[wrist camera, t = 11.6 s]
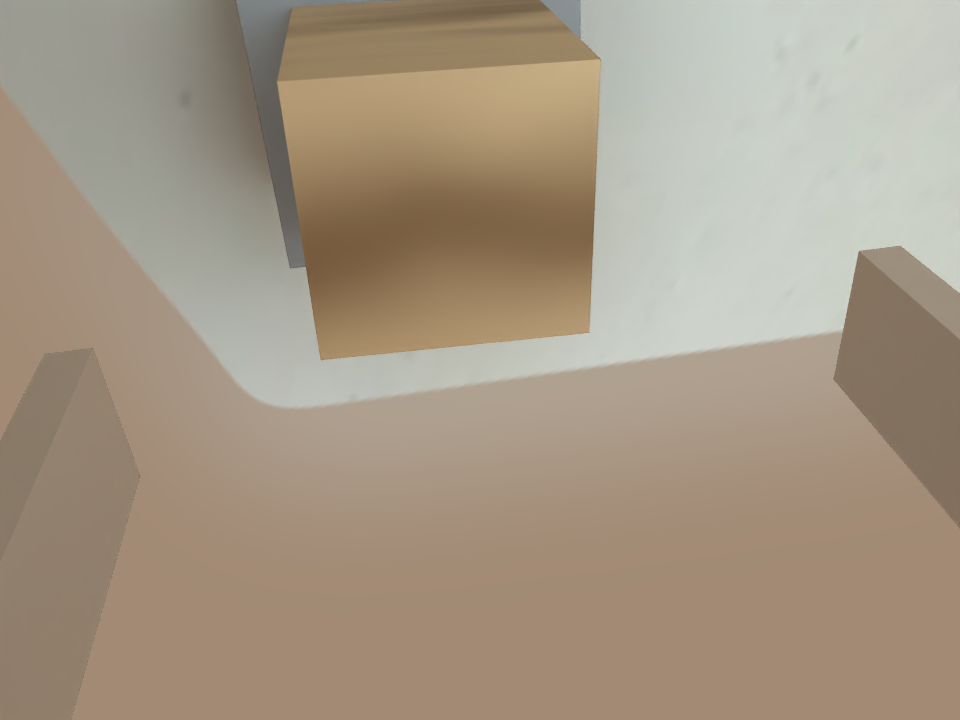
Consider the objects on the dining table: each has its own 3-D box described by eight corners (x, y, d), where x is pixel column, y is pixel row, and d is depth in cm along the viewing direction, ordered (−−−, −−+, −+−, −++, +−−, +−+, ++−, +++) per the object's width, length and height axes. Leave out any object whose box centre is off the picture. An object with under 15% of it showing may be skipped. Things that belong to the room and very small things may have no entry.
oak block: (292, 6, 25) (277, 81, 18) (531, -8, 26) (601, 59, 19) (323, 230, 29) (320, 360, 22) (531, 212, 30) (589, 332, 23)
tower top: (240, -78, 28) (224, -57, 24) (545, -104, 29) (580, -88, 25) (295, 210, 34) (290, 268, 29) (550, 181, 34) (579, 234, 30)
